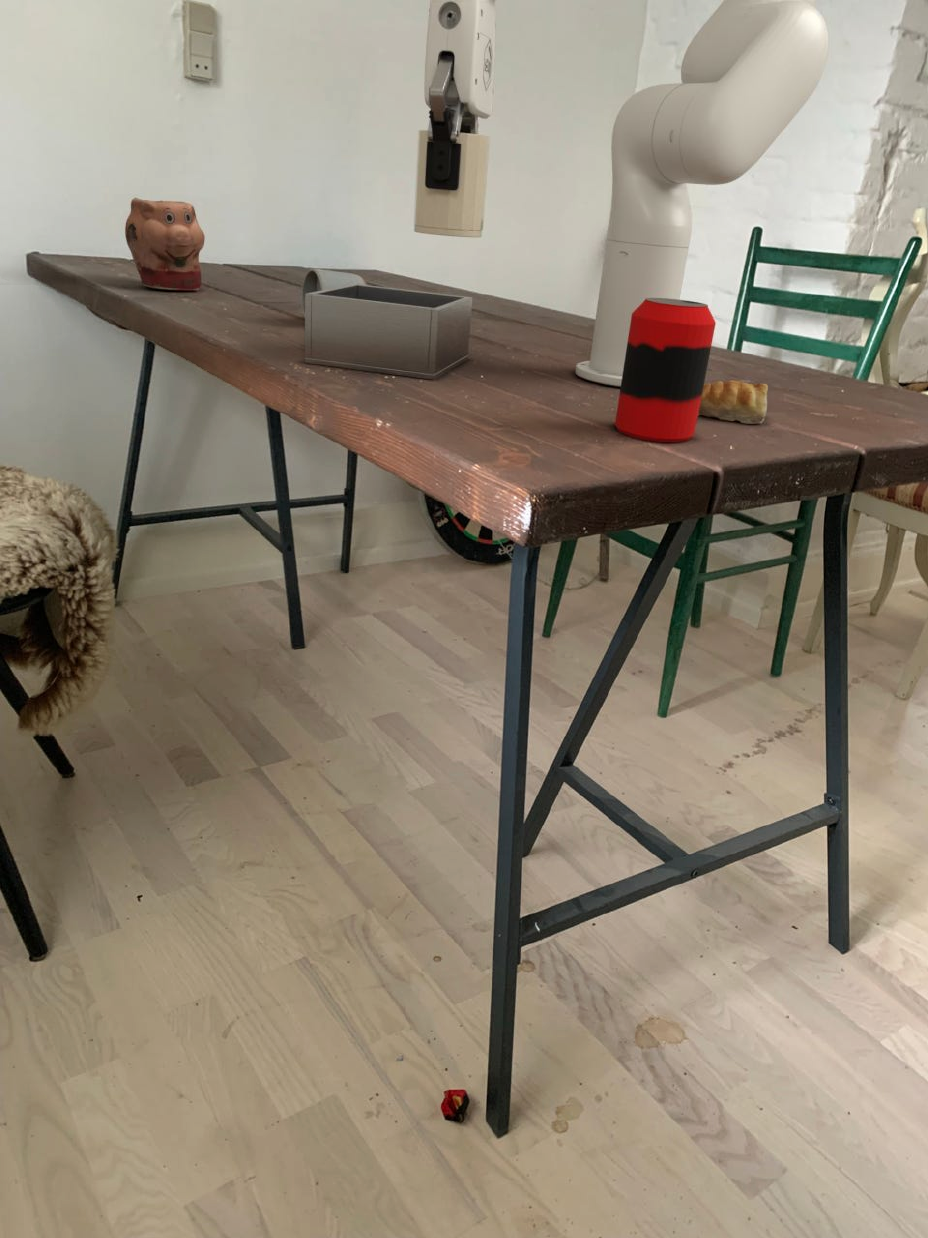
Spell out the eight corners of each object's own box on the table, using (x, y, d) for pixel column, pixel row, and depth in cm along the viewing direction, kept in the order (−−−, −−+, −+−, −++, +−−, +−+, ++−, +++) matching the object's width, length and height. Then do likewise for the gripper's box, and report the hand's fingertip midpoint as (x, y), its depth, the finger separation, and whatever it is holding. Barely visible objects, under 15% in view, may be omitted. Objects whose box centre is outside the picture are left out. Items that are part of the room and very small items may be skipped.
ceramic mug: (372, 328, 132) (374, 272, 129) (320, 329, 128) (321, 270, 125) (341, 318, 140) (341, 265, 137) (291, 318, 136) (290, 263, 133)
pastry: (675, 415, 95) (682, 378, 94) (675, 403, 101) (681, 368, 100) (766, 426, 94) (775, 389, 92) (761, 414, 100) (769, 378, 98)
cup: (487, 235, 94) (495, 138, 90) (474, 238, 88) (481, 133, 84) (423, 229, 96) (428, 133, 92) (405, 231, 89) (410, 128, 85)
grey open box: (467, 359, 116) (472, 297, 112) (434, 380, 102) (438, 309, 98) (352, 345, 118) (353, 283, 115) (304, 362, 105) (305, 293, 101)
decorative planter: (109, 280, 159) (102, 192, 153) (175, 280, 166) (171, 197, 160) (157, 295, 146) (151, 200, 140) (226, 295, 153) (224, 205, 147)
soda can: (710, 440, 86) (736, 308, 81) (652, 445, 82) (676, 307, 77) (654, 421, 92) (676, 296, 87) (598, 425, 88) (617, 295, 83)
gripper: (486, -48, 74) (469, 192, 82) (520, -5, 90) (503, 193, 97) (398, -52, 75) (389, 185, 83) (446, -9, 91) (435, 187, 98)
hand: (450, 188), depth 90 cm, fingers closed on cup, 7 cm apart
